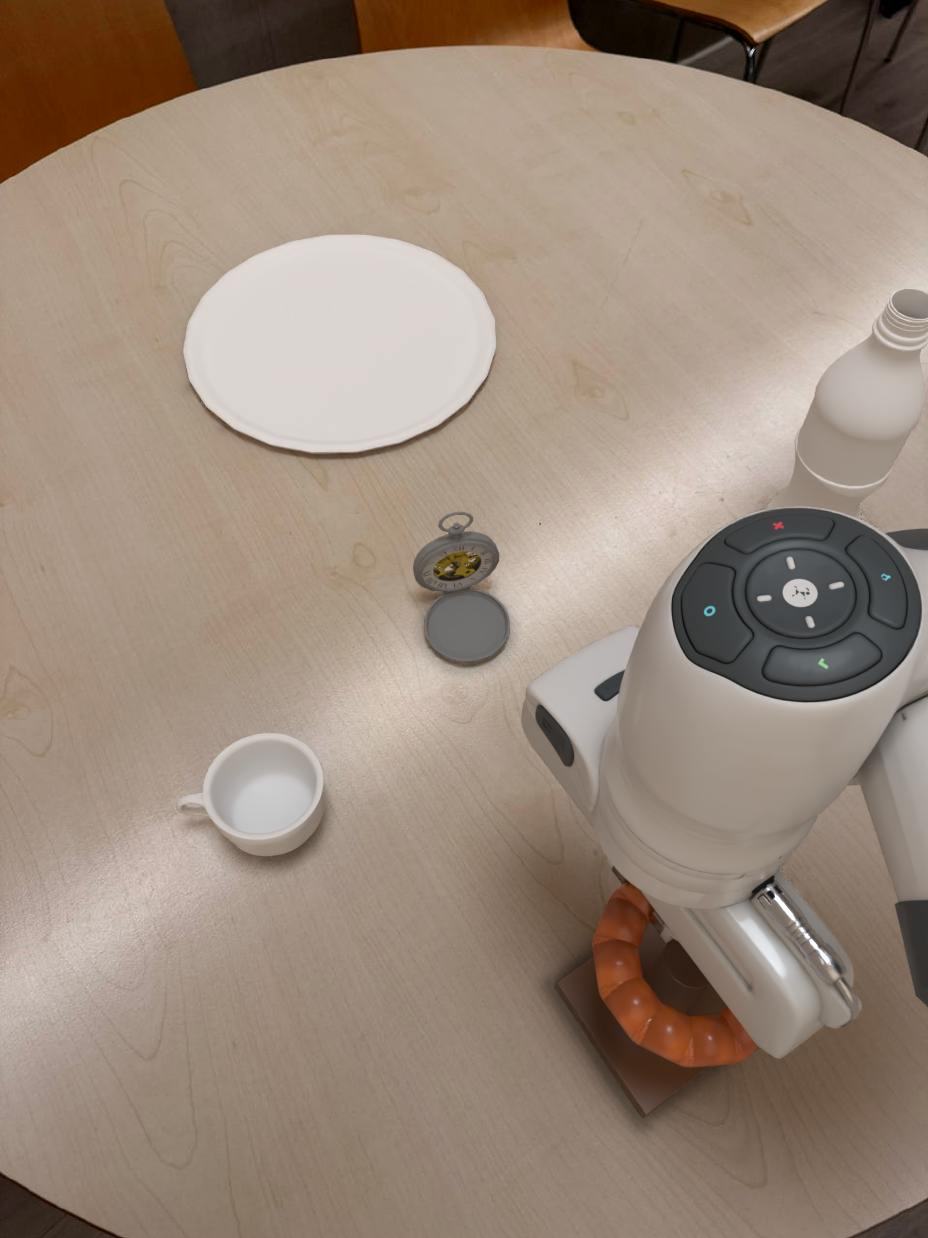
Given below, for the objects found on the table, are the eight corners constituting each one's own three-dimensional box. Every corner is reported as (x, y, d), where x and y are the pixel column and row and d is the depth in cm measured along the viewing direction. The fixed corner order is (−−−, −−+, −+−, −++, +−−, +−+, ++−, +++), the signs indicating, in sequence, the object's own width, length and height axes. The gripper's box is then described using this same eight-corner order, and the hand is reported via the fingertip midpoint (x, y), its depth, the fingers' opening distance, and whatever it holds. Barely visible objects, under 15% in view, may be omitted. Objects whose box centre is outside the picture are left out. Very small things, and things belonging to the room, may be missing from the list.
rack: (755, 1031, 64) (814, 985, 54) (642, 1118, 61) (681, 1087, 51) (664, 911, 68) (702, 846, 58) (554, 987, 65) (573, 934, 55)
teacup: (329, 759, 74) (320, 725, 69) (334, 862, 70) (326, 834, 65) (188, 773, 73) (171, 741, 69) (185, 878, 69) (166, 851, 64)
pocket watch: (469, 683, 77) (471, 611, 69) (390, 619, 80) (382, 542, 72) (540, 616, 80) (549, 539, 72) (461, 557, 83) (461, 476, 75)
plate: (239, 502, 86) (237, 493, 85) (149, 288, 100) (146, 278, 99) (549, 400, 93) (550, 390, 92) (424, 213, 107) (423, 202, 106)
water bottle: (740, 553, 84) (836, 313, 63) (778, 497, 87) (882, 250, 66) (822, 595, 82) (949, 361, 61) (858, 536, 85) (991, 294, 64)
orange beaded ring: (826, 992, 55) (840, 981, 53) (678, 1113, 52) (687, 1107, 50) (697, 837, 59) (705, 822, 57) (553, 939, 56) (557, 927, 54)
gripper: (929, 963, 40) (823, 1031, 52) (612, 599, 50) (582, 726, 61) (811, 1057, 39) (729, 1106, 50) (504, 661, 48) (495, 780, 59)
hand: (646, 895), depth 56 cm, fingers closed on orange beaded ring, 2 cm apart
